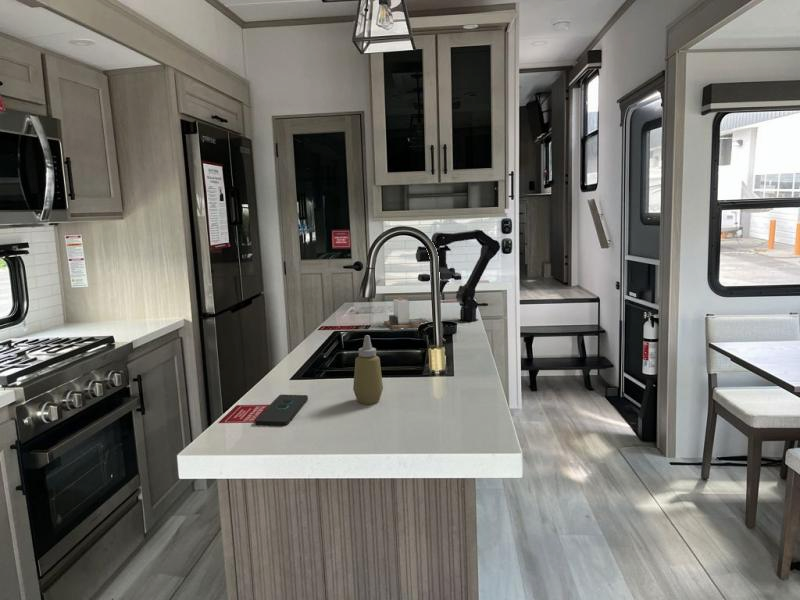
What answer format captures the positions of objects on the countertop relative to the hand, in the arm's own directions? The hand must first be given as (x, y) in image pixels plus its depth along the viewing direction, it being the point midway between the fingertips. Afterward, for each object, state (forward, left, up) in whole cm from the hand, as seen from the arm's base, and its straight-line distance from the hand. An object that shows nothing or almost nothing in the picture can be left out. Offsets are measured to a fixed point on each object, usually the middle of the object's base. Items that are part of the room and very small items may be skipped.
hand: (439, 296), depth 258 cm
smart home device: (-41, +115, -13) cm, 123 cm away
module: (+9, +16, -10) cm, 21 cm away
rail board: (+8, +13, -12) cm, 19 cm away
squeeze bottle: (-52, +96, -12) cm, 110 cm away
